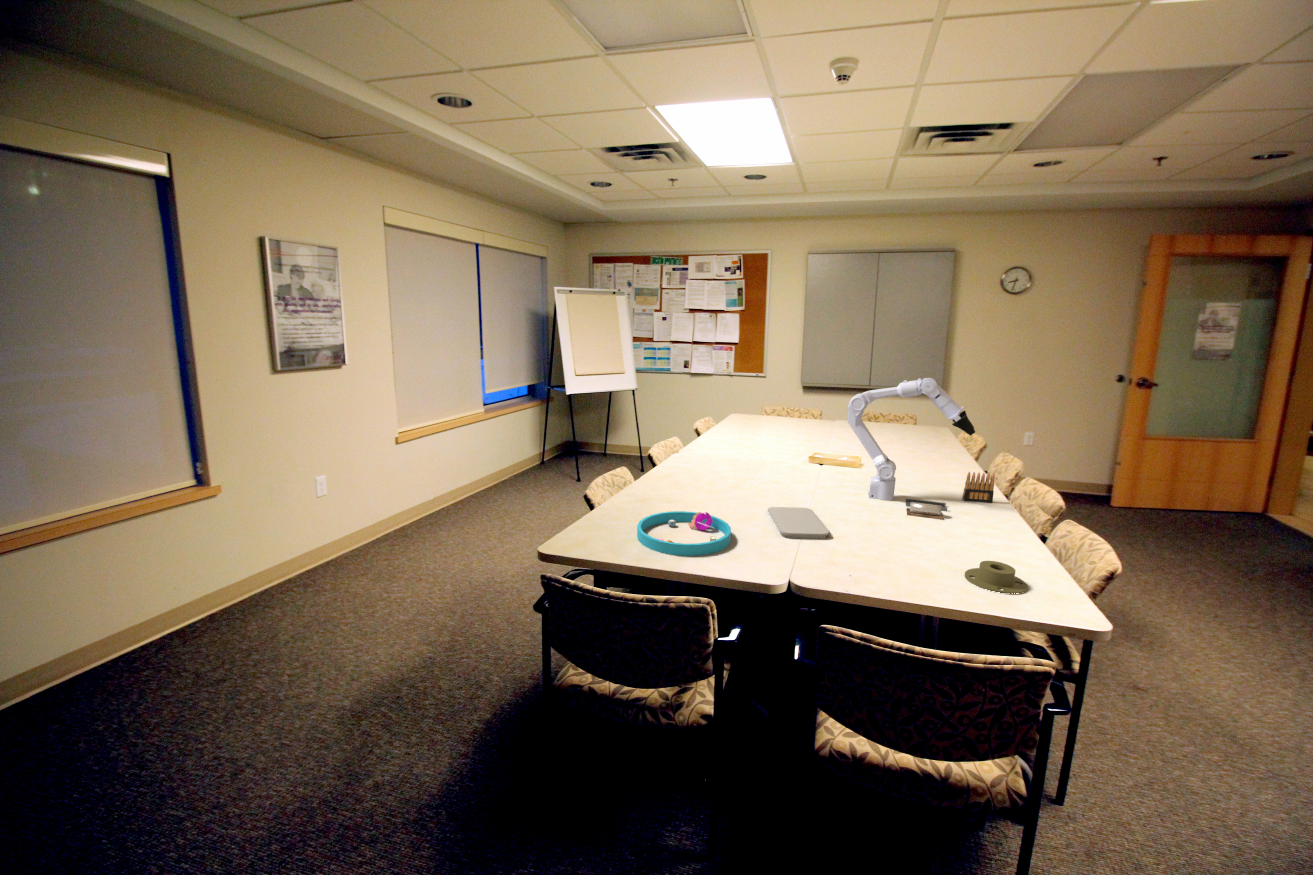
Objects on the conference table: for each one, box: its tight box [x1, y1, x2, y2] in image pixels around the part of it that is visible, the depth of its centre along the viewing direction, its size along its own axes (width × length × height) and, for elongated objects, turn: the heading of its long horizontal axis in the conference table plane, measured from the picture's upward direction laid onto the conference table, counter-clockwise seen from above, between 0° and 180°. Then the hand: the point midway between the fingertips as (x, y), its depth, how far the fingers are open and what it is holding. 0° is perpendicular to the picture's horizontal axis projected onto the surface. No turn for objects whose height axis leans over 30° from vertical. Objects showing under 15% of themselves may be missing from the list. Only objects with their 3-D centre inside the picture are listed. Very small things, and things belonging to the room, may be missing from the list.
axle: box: [909, 502, 942, 517], centre depth 209 cm, size 10×4×4 cm, turn 69°
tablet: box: [767, 506, 830, 540], centre depth 198 cm, size 16×26×2 cm, turn 0°
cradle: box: [905, 497, 948, 512], centre depth 219 cm, size 14×7×2 cm, turn 69°
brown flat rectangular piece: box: [905, 507, 945, 521], centre depth 209 cm, size 12×7×2 cm, turn 69°
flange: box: [964, 560, 1028, 595], centre depth 158 cm, size 5×15×15 cm
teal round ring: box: [636, 510, 732, 557], centre depth 185 cm, size 30×30×6 cm
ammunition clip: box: [961, 471, 995, 504], centre depth 228 cm, size 11×2×12 cm, turn 80°
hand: (972, 431), depth 210 cm, fingers open, 7 cm apart
